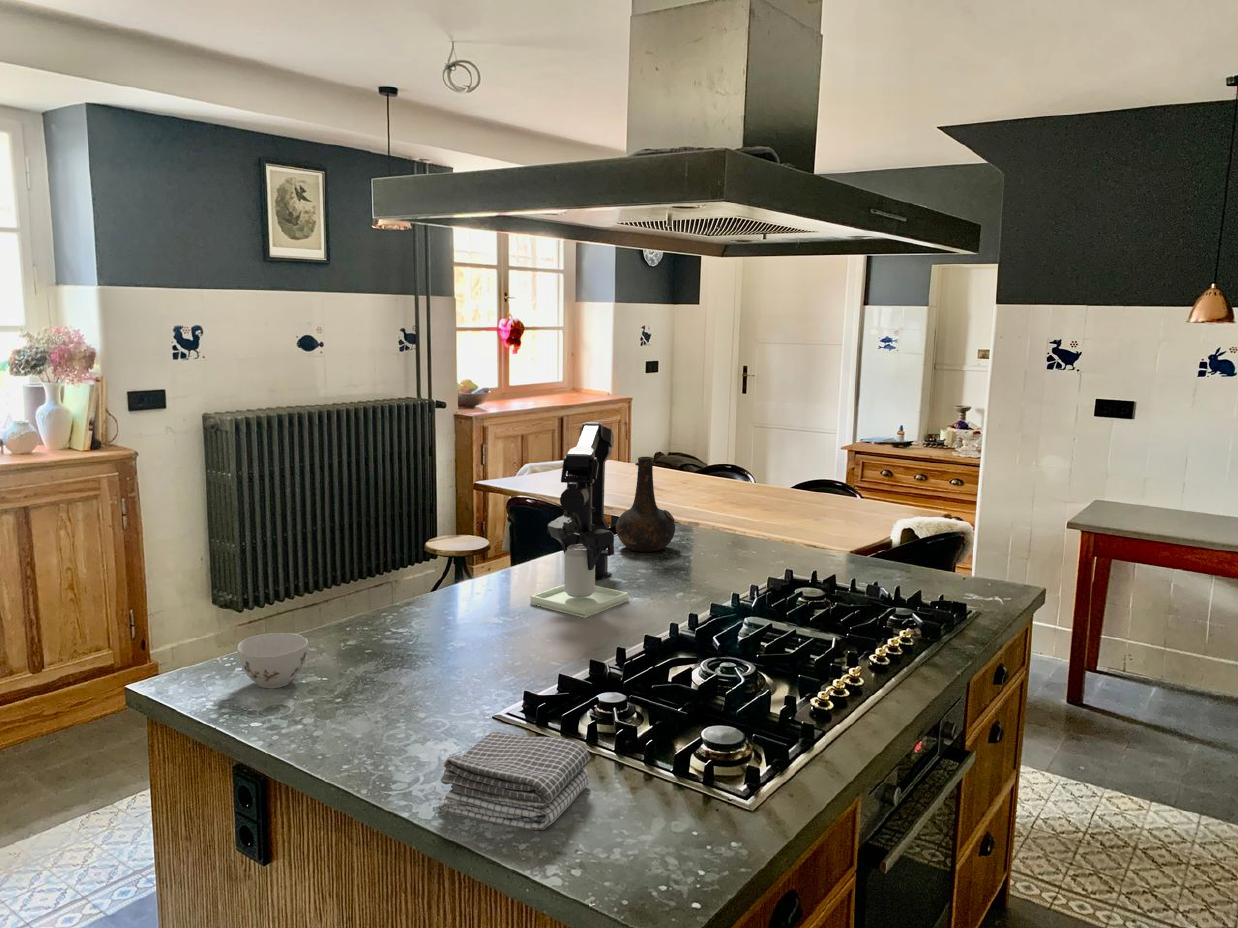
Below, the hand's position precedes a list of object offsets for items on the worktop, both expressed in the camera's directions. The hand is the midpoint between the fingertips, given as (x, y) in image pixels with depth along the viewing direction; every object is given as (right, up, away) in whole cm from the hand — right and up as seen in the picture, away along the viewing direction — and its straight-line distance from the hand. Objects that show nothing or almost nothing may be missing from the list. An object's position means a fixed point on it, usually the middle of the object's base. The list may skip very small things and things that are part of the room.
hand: (579, 566), depth 227 cm
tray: (0, -9, +1) cm, 9 cm away
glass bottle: (+17, -1, +55) cm, 58 cm away
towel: (-6, -24, -91) cm, 95 cm away
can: (0, -7, +1) cm, 7 cm away
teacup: (-55, -17, -49) cm, 76 cm away
